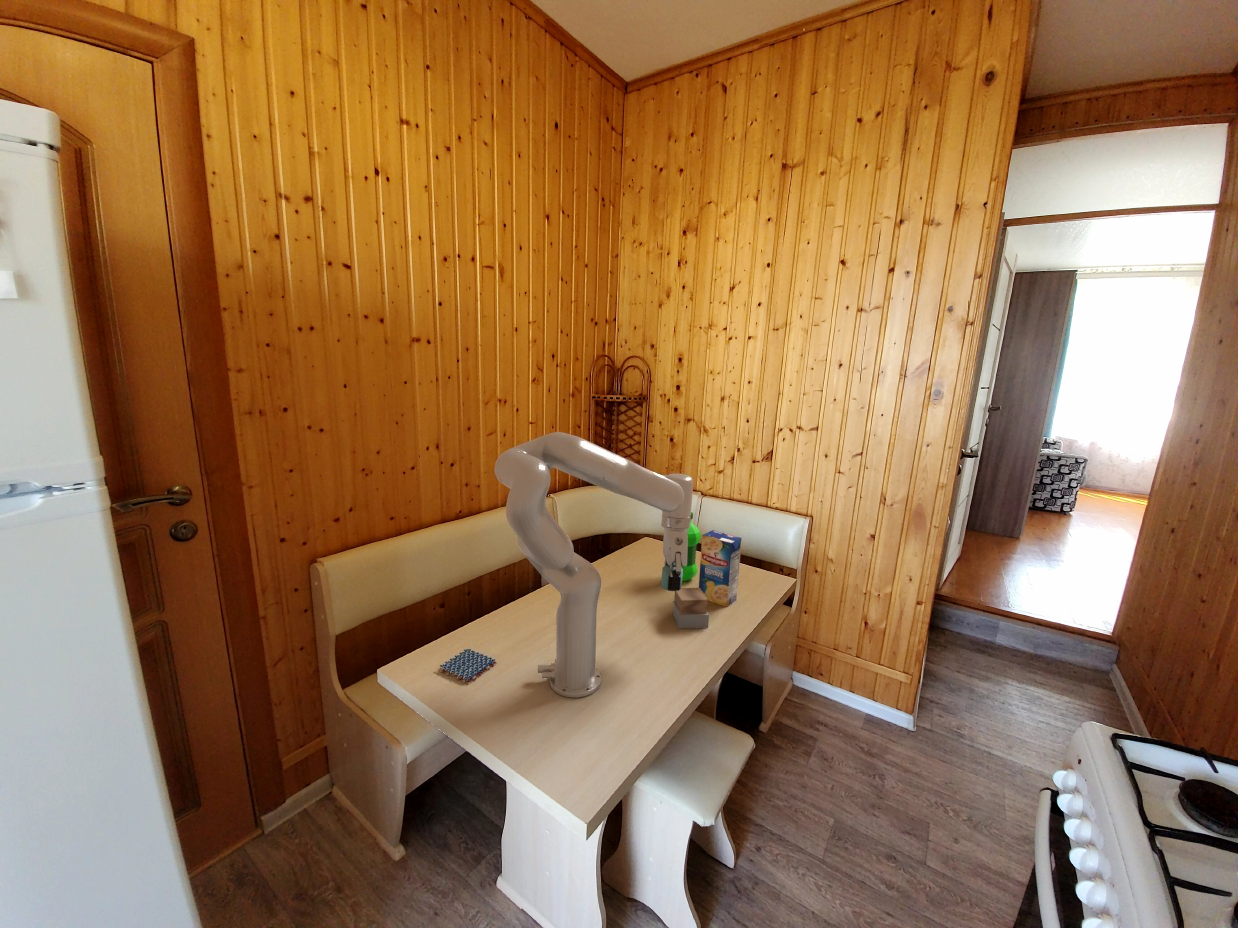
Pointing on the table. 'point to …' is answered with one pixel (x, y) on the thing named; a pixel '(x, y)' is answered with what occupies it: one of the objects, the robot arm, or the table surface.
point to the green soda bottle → (691, 552)
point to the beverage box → (720, 567)
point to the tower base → (690, 619)
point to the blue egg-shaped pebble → (665, 577)
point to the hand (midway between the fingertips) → (671, 584)
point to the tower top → (691, 601)
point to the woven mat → (468, 665)
